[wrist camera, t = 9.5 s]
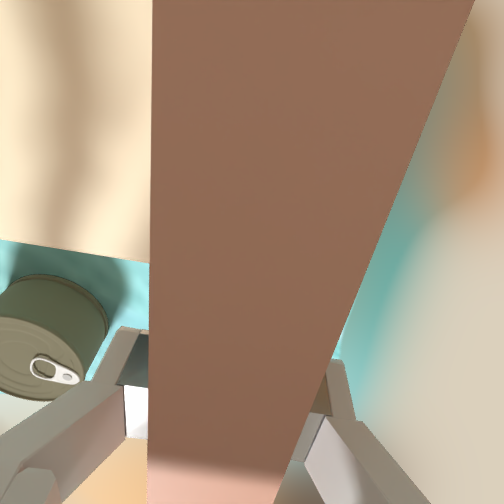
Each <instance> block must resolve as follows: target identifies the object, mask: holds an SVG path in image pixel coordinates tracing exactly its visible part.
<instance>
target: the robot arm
mask: <svg viewBox="0 0 504 504" xmlns="http://www.w3.org/2000/svg"><path fill="white" fill-rule="evenodd" d="M148 358H149V330H143V329H142V330H141V329H136V328H130V327H124V326H121V327H120V328H119V329H118V330H117V331H116V333H115V335H114V337H113V339H112V341H111V343H110V345H109V347H108V349H107V351H106V352H105V354H104V356H103V358H102V360H101V362H100V364H99V366H98V368H97V370H96V372H95V374H94V375H93V377H92V379H91V381H82V382H81V383H79V384H78V385H76V386H75V387H73V388H72V389H70V390H69V391H67V392H66V393H64V394H63V395H61V396H60V397H58V398H57V399H55V400H54V401H52V402H51V403H49V404H48V405H46V406H45V407H43V408H42V409H40V410H39V411H37V412H35V413H34V414H32V415H31V416H29V417H28V418H27V419H25V420H23V421H22V422H20V423H19V424H17V425H16V426H14V427H13V428H11V429H10V430H8V431H7V432H5V433H4V434H2V435H1V436H0V504H62V502H63V501H65V499H66V498H68V497H69V495H70V494H71V493H72V492H73V491H74V490H75V489H76V488H77V487H78V486H79V485H80V484H81V483H82V482H83V481H84V480H85V479H86V478H87V477H88V476H89V475H90V474H91V473H92V472H93V471H94V470H95V469H96V468H97V467H98V466H99V465H100V464H101V463H102V462H103V461H104V460H105V459H106V458H107V457H108V456H109V455H110V454H111V453H112V452H113V451H114V450H115V449H116V448H117V447H118V446H119V445H120V444H121V443H122V442H123V441H124V440H125V437H130V438H139V439H148ZM290 460H295V461H300V462H305V463H304V465H305V467H306V469H307V471H308V472H309V474H310V476H311V478H312V480H313V482H314V484H315V486H316V487H317V489H318V491H319V493H320V495H321V497H322V499H323V500H324V502H325V504H431V503H430V502H429V501H428V500H427V498H426V497H425V496H424V495H423V494H422V492H421V491H420V490H419V489H418V488H417V486H416V485H415V484H414V483H413V481H411V479H410V478H409V477H408V475H407V474H406V473H405V472H404V471H403V469H402V468H401V467H400V466H399V465H398V463H397V462H396V461H395V460H394V459H393V457H392V456H391V455H390V454H389V453H388V452H387V451H386V449H385V448H384V447H383V446H382V444H381V443H380V442H379V441H378V440H377V439H376V437H375V436H374V435H373V433H372V432H371V431H370V430H369V429H368V427H367V426H366V425H365V424H364V423H363V422H362V421H357V420H356V417H355V413H354V408H353V403H352V399H351V394H350V390H349V385H348V380H347V375H346V371H345V366H344V363H343V361H342V360H338V359H331V360H330V362H329V365H328V367H327V370H326V372H325V375H324V377H323V380H322V382H321V385H320V387H319V390H318V392H317V395H316V397H315V400H314V402H313V405H312V407H311V410H310V412H309V415H308V417H307V420H306V422H305V425H304V427H303V430H302V432H301V435H300V437H299V440H298V442H297V445H296V447H295V449H294V452H293V454H292V457H291V459H290Z"/></svg>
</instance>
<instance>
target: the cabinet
mask: <svg viewBox="0 0 504 504" xmlns="http://www.w3.org/2000/svg"><path fill="white" fill-rule="evenodd" d="M151 85H152V0H0V239H2V240H8V241H14V242H21V243H27V244H33V245H39V246H45V247H52V248H58V249H64V250H70V251H76V252H82V253H89V254H95V255H101V256H107V257H113V258H120V259H126V260H132V261H138V262H144V263H150V176H151Z"/></svg>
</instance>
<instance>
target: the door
mask: <svg viewBox="0 0 504 504" xmlns="http://www.w3.org/2000/svg"><path fill="white" fill-rule="evenodd" d="M474 1H475V0H152V85H151V176H150V267H149V358H148V453H147V504H273V502H274V499H275V497H276V494H277V492H278V489H279V486H280V484H281V482H282V479H283V477H284V474H285V472H286V469H287V467H288V464H289V462H290V459H291V457H292V454H293V452H294V449H295V447H296V445H297V442H298V440H299V437H300V435H301V432H302V430H303V427H304V425H305V422H306V420H307V417H308V415H309V412H310V410H311V407H312V405H313V402H314V400H315V397H316V395H317V392H318V390H319V387H320V385H321V382H322V380H323V377H324V375H325V372H326V370H327V367H328V365H329V362H330V360H331V357H332V355H333V352H334V350H335V347H336V345H337V342H338V340H339V337H340V335H341V332H342V330H343V327H344V325H345V322H346V320H347V317H348V315H349V312H350V310H351V307H352V305H353V303H354V300H355V298H356V295H357V293H358V290H359V288H360V285H361V283H362V280H363V278H364V275H365V273H366V270H367V268H368V265H369V263H370V260H371V258H372V255H373V253H374V250H375V248H376V245H377V243H378V240H379V237H380V235H381V233H382V230H383V228H384V225H385V223H386V220H387V217H388V215H389V213H390V210H391V208H392V205H393V203H394V200H395V198H396V195H397V193H398V190H399V188H400V185H401V183H402V180H403V178H404V175H405V173H406V170H407V168H408V166H409V163H410V161H411V158H412V156H413V153H414V150H415V148H416V146H417V143H418V141H419V138H420V136H421V133H422V130H423V128H424V126H425V123H426V121H427V118H428V116H429V113H430V110H431V108H432V106H433V103H434V101H435V98H436V96H437V93H438V90H439V88H440V86H441V83H442V80H443V78H444V76H445V73H446V71H447V68H448V66H449V63H450V61H451V58H452V56H453V53H454V51H455V48H456V46H457V43H458V41H459V38H460V36H461V33H462V31H463V28H464V26H465V23H466V21H467V18H468V16H469V14H470V11H471V9H472V6H473V3H474Z"/></svg>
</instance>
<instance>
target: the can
mask: <svg viewBox="0 0 504 504" xmlns="http://www.w3.org/2000/svg"><path fill="white" fill-rule="evenodd" d="M107 332H108V318H107V315H106V313H105V311H104V309H103V307H102V306H101V304H100V303H99V302H98V300H97V299H96V298H95V297H94V296H93V295H92V294H91V293H89V292H88V291H87V290H85V289H84V288H82V287H81V286H79V285H77V284H76V283H74V282H72V281H69V280H67V279H64V278H61V277H57V276H53V275H45V274H34V275H28V276H24V277H22V278H19V279H18V280H16V281H14V282H13V283H12V284H11V285H10V286H9V287H8V288H7V289H6V290H5V291H4V292H3V293H2V294H1V295H0V391H2V392H4V393H6V394H9V395H12V396H15V397H18V398H22V399H26V400H32V401H44V402H45V401H54V400H55V399H57V398H58V397H60V396H61V395H63V394H64V393H66V392H67V391H69V390H70V389H72V388H73V387H75V386H76V385H78V384H79V383H81V382H82V381H84V380H85V376H86V373H87V371H88V369H89V367H90V365H91V363H92V362H93V360H94V358H95V356H96V354H97V352H98V350H99V348H100V346H101V344H102V342H103V341H104V339H105V338H106V335H107Z"/></svg>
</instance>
